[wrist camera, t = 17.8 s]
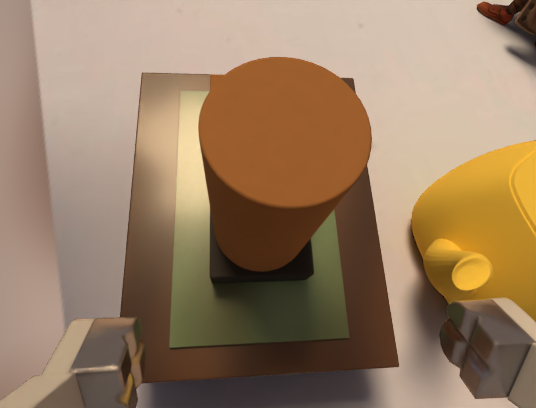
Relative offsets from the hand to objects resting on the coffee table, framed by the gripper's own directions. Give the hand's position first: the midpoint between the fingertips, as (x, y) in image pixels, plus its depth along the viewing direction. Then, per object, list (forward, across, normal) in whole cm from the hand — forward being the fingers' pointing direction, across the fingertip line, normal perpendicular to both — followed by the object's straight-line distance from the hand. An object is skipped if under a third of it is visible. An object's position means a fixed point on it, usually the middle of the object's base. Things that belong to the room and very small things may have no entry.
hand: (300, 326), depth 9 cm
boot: (+12, 0, +1) cm, 12 cm away
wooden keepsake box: (+16, 0, +6) cm, 17 cm away
